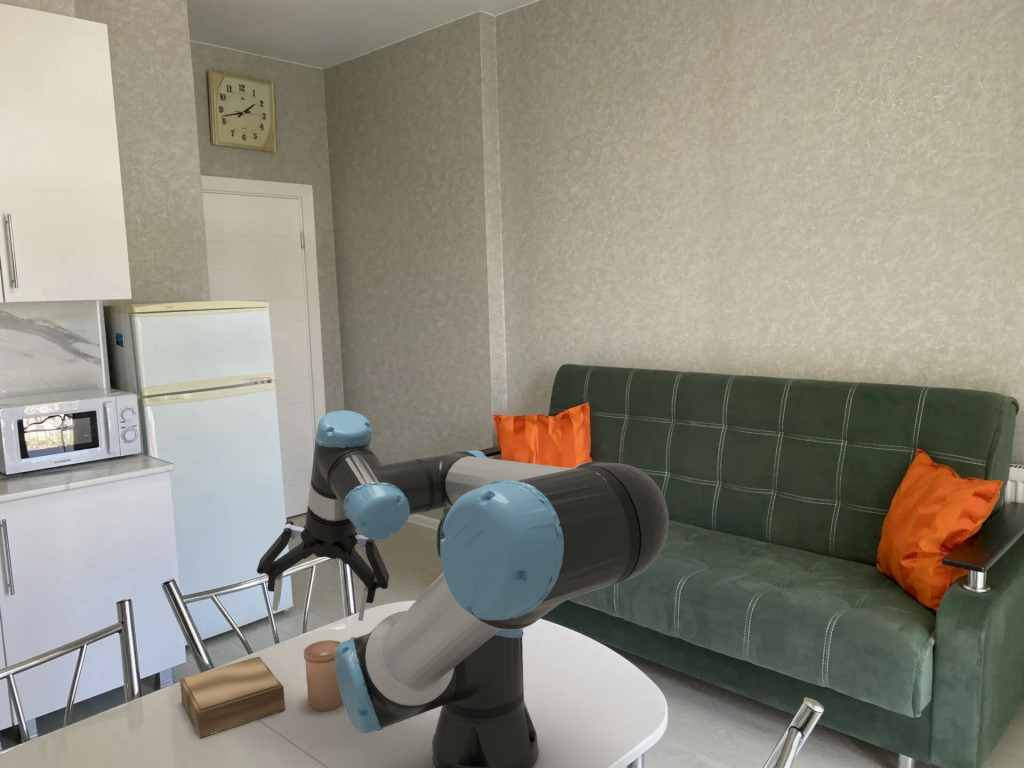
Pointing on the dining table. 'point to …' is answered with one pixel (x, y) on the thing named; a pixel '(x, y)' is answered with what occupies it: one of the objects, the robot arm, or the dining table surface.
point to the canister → (322, 676)
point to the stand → (231, 695)
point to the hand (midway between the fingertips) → (319, 609)
